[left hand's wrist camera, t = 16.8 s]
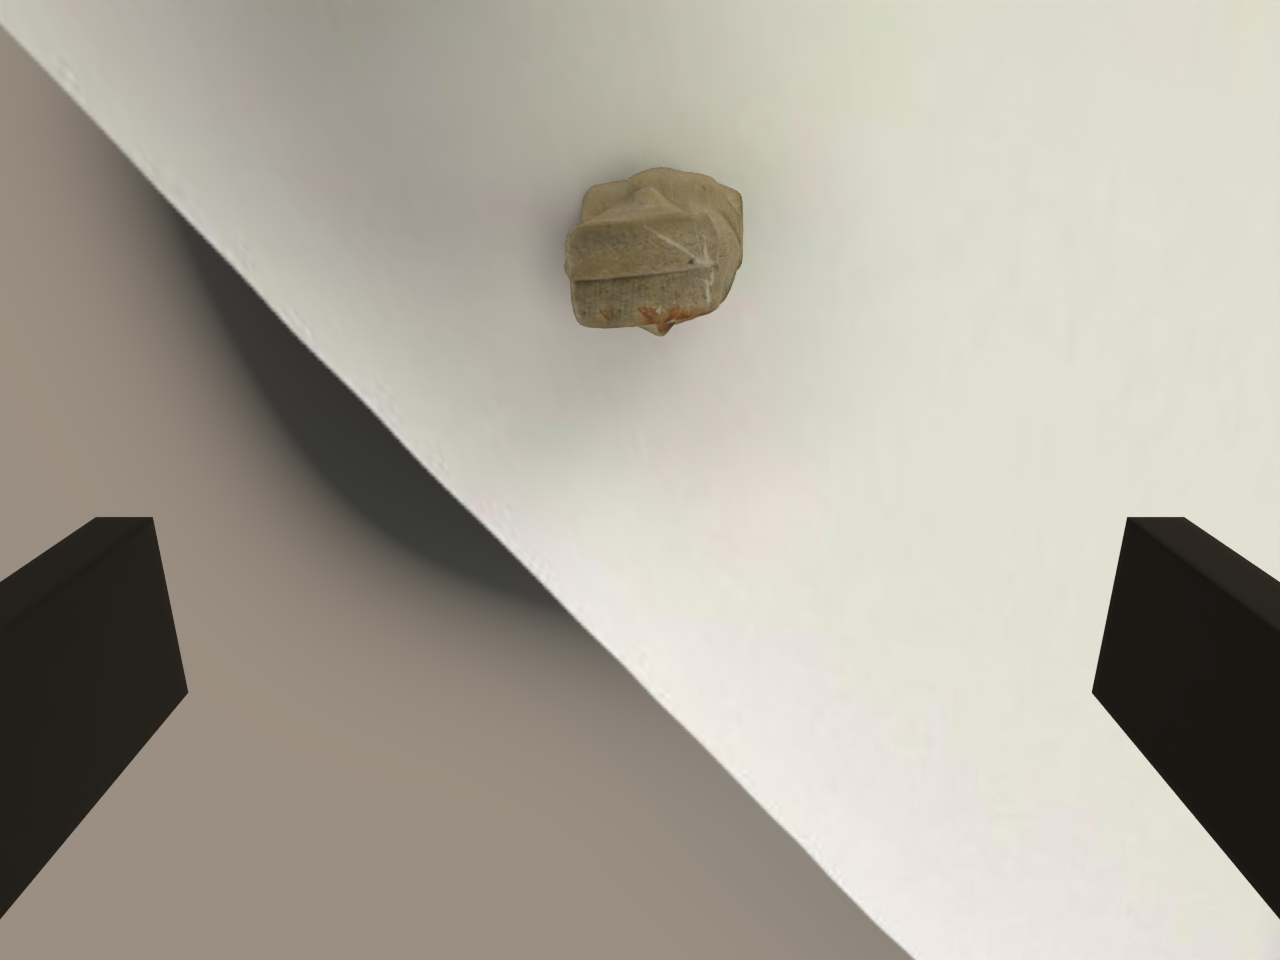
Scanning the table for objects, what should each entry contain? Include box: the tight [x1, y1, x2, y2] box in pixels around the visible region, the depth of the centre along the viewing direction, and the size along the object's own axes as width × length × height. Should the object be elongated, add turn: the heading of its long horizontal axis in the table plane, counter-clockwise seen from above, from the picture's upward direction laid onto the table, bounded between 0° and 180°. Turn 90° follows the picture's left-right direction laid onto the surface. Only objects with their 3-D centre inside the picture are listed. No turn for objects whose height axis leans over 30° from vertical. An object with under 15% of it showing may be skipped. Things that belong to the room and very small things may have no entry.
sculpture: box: [564, 167, 743, 336], centre depth 35 cm, size 6×7×15 cm
